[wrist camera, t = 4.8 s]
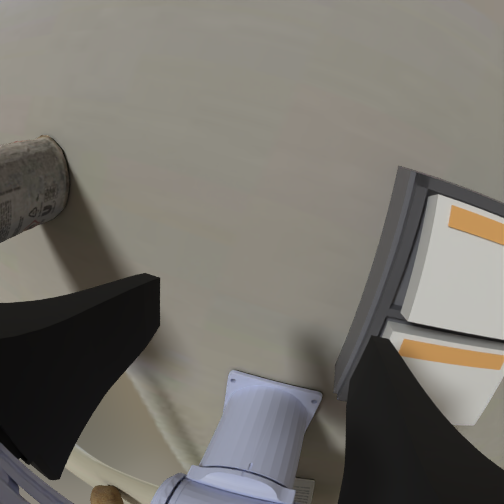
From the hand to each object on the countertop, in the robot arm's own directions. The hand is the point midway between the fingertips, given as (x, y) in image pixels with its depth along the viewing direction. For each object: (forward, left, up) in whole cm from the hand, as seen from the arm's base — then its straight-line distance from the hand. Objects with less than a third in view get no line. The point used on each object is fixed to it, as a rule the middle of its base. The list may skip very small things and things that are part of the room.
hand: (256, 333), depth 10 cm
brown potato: (-74, +28, -11) cm, 80 cm away
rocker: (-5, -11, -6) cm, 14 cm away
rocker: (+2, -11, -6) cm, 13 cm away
